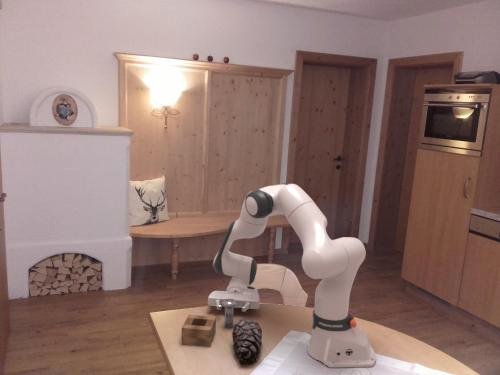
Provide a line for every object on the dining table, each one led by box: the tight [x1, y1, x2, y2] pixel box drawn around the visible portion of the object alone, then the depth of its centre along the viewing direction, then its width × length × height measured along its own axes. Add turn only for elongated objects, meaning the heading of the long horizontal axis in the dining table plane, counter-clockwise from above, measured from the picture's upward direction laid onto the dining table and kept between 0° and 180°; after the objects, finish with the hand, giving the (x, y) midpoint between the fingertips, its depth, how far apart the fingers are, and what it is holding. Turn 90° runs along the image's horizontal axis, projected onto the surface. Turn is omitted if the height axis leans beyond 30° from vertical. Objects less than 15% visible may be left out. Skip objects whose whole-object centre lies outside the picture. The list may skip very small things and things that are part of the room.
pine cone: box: [231, 318, 263, 368], centre depth 148 cm, size 10×18×10 cm, turn 9°
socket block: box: [181, 314, 217, 347], centre depth 158 cm, size 10×10×6 cm
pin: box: [223, 299, 236, 329], centre depth 166 cm, size 5×5×10 cm
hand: (231, 308), depth 170 cm, fingers open, 8 cm apart
